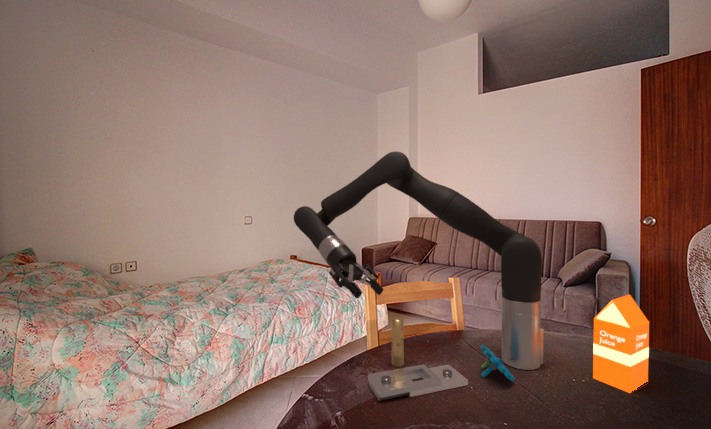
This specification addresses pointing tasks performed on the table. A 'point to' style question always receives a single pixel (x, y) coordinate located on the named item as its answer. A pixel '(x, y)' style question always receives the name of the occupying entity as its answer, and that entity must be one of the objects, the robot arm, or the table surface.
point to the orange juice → (621, 345)
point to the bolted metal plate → (402, 384)
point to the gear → (494, 364)
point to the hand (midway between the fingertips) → (370, 294)
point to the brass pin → (397, 341)
